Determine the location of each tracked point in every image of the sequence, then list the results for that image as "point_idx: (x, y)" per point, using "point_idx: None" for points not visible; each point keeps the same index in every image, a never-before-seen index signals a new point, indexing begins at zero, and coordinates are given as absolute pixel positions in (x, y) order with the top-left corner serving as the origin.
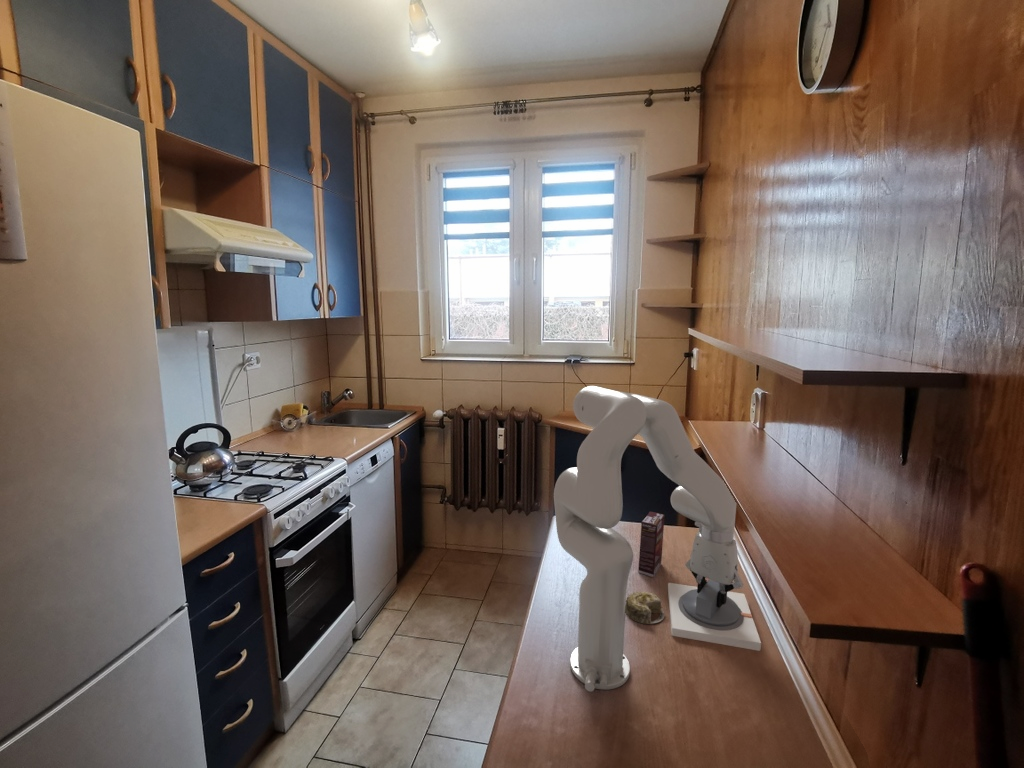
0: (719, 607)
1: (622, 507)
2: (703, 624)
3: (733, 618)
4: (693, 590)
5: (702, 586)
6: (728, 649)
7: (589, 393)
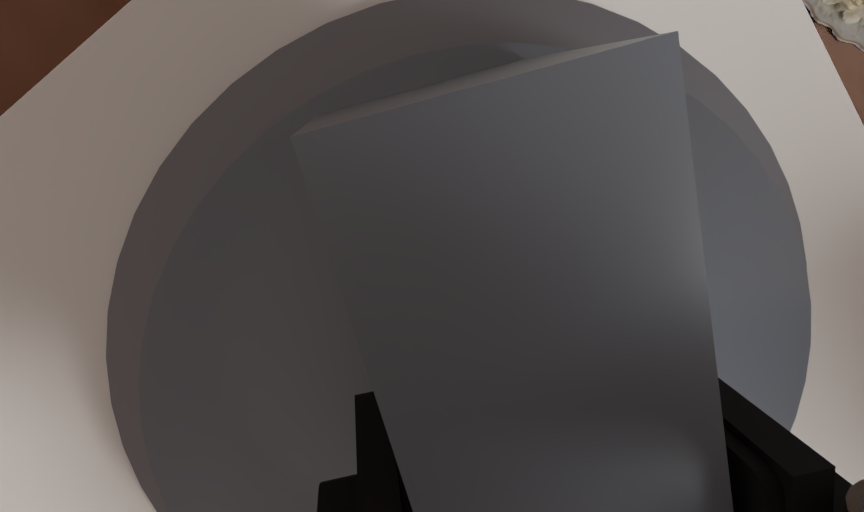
0: (356, 403)
1: None
2: (370, 46)
3: (155, 402)
4: None
5: (753, 486)
6: (29, 35)
7: None
